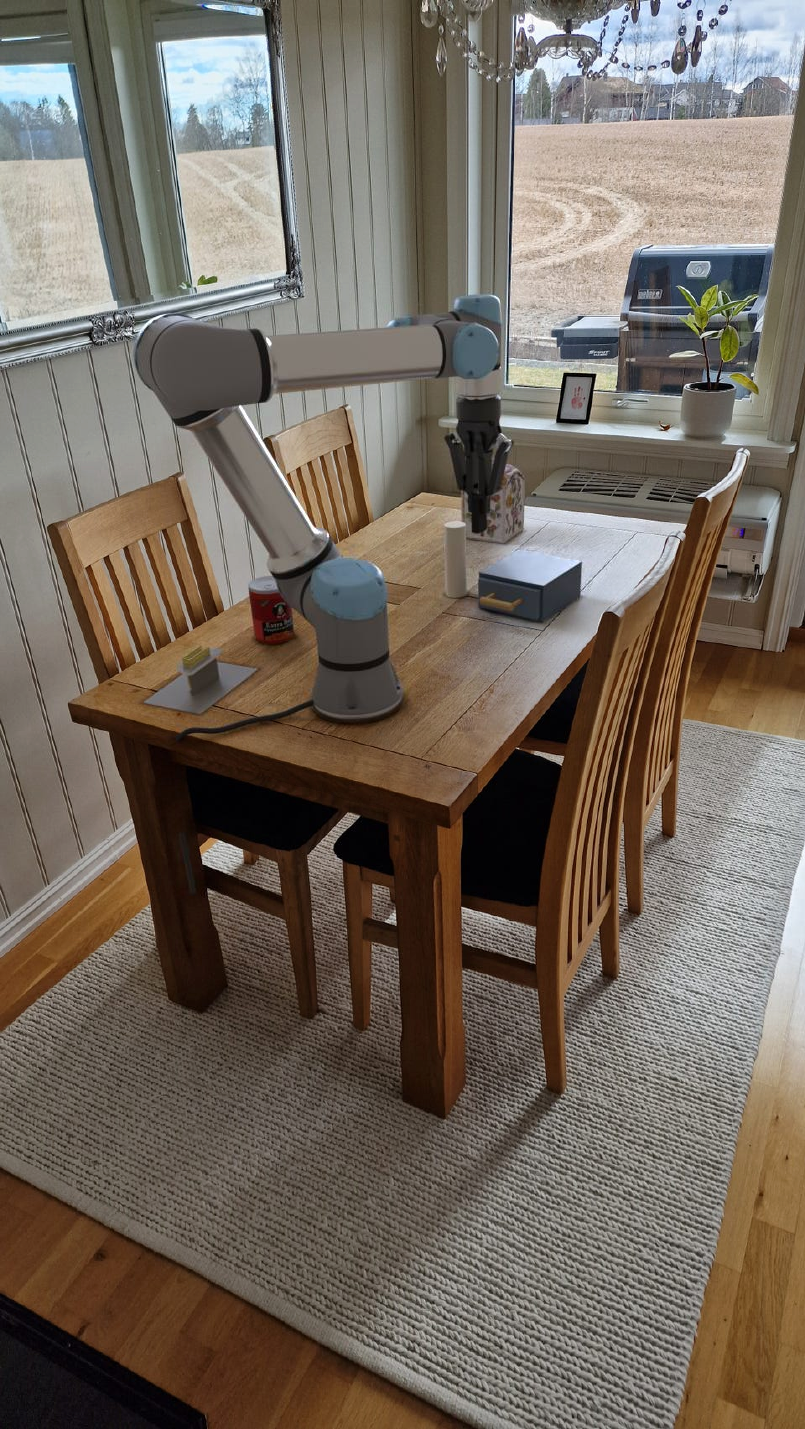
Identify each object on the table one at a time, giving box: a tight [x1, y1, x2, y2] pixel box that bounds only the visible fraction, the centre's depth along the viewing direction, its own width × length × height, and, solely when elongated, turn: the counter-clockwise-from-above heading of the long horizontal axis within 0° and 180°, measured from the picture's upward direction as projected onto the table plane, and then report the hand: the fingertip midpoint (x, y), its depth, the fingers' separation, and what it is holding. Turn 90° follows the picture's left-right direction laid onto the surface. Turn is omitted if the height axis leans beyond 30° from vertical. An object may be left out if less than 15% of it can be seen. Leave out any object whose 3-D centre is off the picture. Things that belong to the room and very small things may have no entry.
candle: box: [443, 520, 468, 599], centre depth 198 cm, size 4×4×15 cm
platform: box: [142, 644, 259, 715], centre depth 168 cm, size 12×18×7 cm, turn 156°
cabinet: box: [478, 549, 583, 623], centre depth 194 cm, size 16×15×8 cm
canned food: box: [248, 575, 295, 645], centre depth 184 cm, size 8×8×11 cm
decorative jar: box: [460, 457, 526, 545], centre depth 230 cm, size 12×12×18 cm
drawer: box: [477, 577, 541, 620], centre depth 192 cm, size 19×13×6 cm
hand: (479, 530), depth 174 cm, fingers closed
